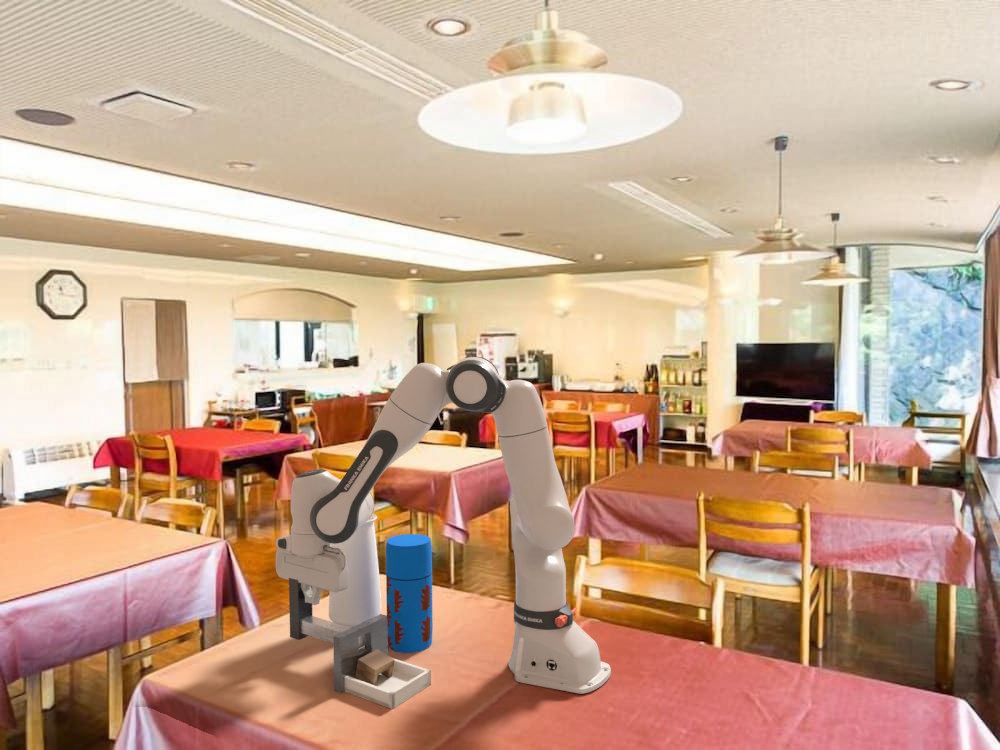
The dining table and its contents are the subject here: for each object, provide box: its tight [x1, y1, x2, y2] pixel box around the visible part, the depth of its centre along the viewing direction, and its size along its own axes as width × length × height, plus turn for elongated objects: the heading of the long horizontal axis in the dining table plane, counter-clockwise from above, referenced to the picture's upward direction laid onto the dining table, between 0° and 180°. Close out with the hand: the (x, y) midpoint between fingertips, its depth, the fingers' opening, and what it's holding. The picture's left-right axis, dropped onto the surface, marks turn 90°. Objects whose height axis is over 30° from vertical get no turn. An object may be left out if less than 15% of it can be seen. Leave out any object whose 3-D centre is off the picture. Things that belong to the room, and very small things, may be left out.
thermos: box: [385, 533, 434, 654], centre depth 167 cm, size 11×11×25 cm
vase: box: [328, 513, 382, 628], centre depth 177 cm, size 13×13×28 cm
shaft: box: [288, 578, 365, 649], centre depth 156 cm, size 20×4×14 cm, turn 56°
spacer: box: [355, 649, 396, 686], centre depth 148 cm, size 5×6×4 cm
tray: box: [344, 657, 432, 710], centre depth 146 cm, size 13×12×3 cm
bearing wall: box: [333, 613, 389, 694], centre depth 150 cm, size 2×14×12 cm, turn 147°
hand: (312, 603), depth 158 cm, fingers closed
